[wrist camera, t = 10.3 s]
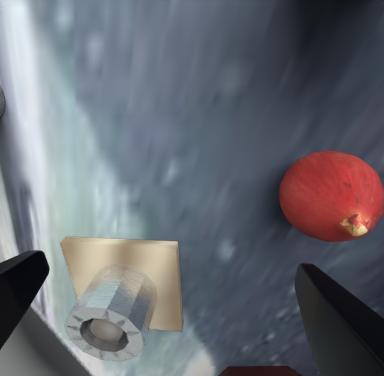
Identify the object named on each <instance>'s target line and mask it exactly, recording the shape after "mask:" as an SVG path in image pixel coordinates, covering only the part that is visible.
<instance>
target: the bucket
mask: <svg viewBox="0 0 384 376" xmlns="http://www.w3.org/2000/svg"><path fill="white" fill-rule="evenodd" d="M219 376H302V375H300V374H299V373H297V372H296V371H294V370H293V369H291V368H290V367H288V366H245V367H227V368H226V369H225V370H224V371H223V372H222V373H221V374H220V375H219Z"/></svg>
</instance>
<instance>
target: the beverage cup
mask: <svg viewBox="0 0 384 376" xmlns="http://www.w3.org/2000/svg"><path fill="white" fill-rule="evenodd" d="M4 110H5V98H4V94H3V91H2V89H1V87H0V117H1V116H2V115H3V112H4Z"/></svg>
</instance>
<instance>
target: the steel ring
mask: <svg viewBox="0 0 384 376" xmlns="http://www.w3.org/2000/svg"><path fill="white" fill-rule="evenodd" d="M157 299H158V297H157V289H156V285H155V284H154V282H153V281H152V280H151V279H150V278H149V276H148V275H147V274H146V273H144V272H142V271H140V270H138V269H136V268H134V267H132V266H130V265H117V264H111V265H109V266H107V267H105V268H103V269H101V270H99V271H98V272H97V274H96V275H95V277H94V278H93V280H92V281H91V282H90V284H89V285H88V287H87V288H86V290H85V291H84V293H83V294H82V296H81V297H80V299H79V300H78V302H77V303H76V305H75V306H74V308H73V309H72V311H71V312H70V314H69V316H68V318H67V320H66V323H65V325H64V326H65V329H66V331H67V334H68V337H69V339H70V340H71V341H72V342H73V343H74V344H75V345H76V346H78V347H79V348H80V349H81V350H82V351H83V352H85V353H88V354H90V355H92V356H95V357H97V358H99V359H103V360H112V361H123V360H127V359H130V358H134V357H136V356H137V354H138V353H139V352H140V350H141V349H142V348H143V347H144V343H145V340H146V336H147V333H148V330H149V326H150V323H151V319H152V316H153V313H154V309H155V306H156V303H157ZM94 318H96V319H106V320H108V321H110V322H113V323H115V324H117V325H119V326H120V327H121V328H122V329H123V330H124V332H123V334H122V337H121V338H120V339H119V340H117V341H113V342H109V341H104V340H101V339H99V338H97V337H96V336H95V335H94V334H93V333H92V332H91V330H90V325H91V323H92V321H93V319H94Z"/></svg>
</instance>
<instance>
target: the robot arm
mask: <svg viewBox="0 0 384 376" xmlns="http://www.w3.org/2000/svg"><path fill="white" fill-rule="evenodd" d="M48 274H49V265H48V262H47V259H46V257H45V254H44V252H43V251H41V250H29V251H27V252H24V253H22V254H20V255H18V256H15V257H13V258H11V259H8V260H6V261H4V262H1V263H0V350H1V348H2V347H3V345H4V343H5V342H6V341H7V340H8V338H9V337H10V335H11V334H12V332H13V331H14V329H15V328H16V327H17V325H18V324H19V322H20V321H21V319H22V318H23V316H24V315H25V313H26V311H27V310H28V308H29V307H30V305H31V303H32V301H33V300H34V298H35V296H36V295H37V293H38V291H39V289H40V288H41V286H42V284H43V283H44V281H45V279H46V278H47V276H48ZM295 291H296V295H297V299H298V303H299V307H300V311H301V315H302V319H303V323H304V327H305V331H306V335H307V339H308V342H309V345H310V348H311V351H312V354H313V357H314V359H315V362H316V365H317V368H318V371H319V373H320V376H384V318H382V317H381V316H380V315H378V314H377V313H376V312H375V311H373V310H372V309H371V308H369V307H368V306H367V305H365V304H364V303H363V302H362V301H360V300H359V299H358V298H356V297H355V296H354V295H353V294H351V293H350V292H349V291H347V290H346V289H345V288H344V287H342V286H341V285H340V284H338V283H337V282H336V281H335V280H333V279H332V278H331V277H329V276H328V275H327V274H325V273H324V272H323V271H322V270H320V269H319V268H318V267H316V266H315V265H313V264H306V263H301V264H299V265H298V269H297V274H296V279H295Z"/></svg>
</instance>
